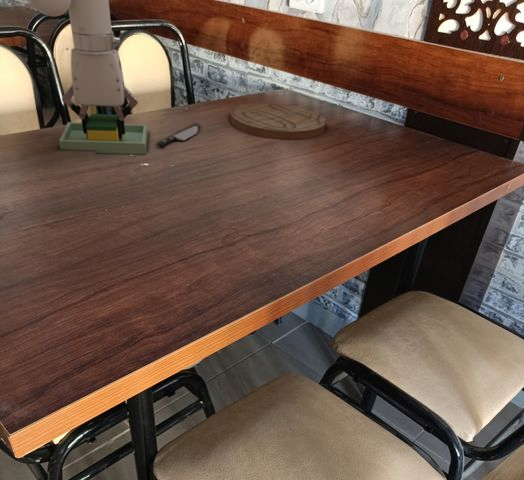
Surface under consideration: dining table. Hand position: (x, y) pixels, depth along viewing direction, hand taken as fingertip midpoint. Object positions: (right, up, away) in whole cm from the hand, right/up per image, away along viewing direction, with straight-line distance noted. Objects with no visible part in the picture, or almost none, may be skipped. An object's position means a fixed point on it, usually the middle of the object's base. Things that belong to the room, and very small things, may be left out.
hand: (105, 136), depth 111 cm
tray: (0, -1, +1) cm, 1 cm away
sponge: (0, 0, 0) cm, 1 cm away
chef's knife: (+16, +3, +7) cm, 18 cm away
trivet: (+39, +12, +22) cm, 46 cm away
